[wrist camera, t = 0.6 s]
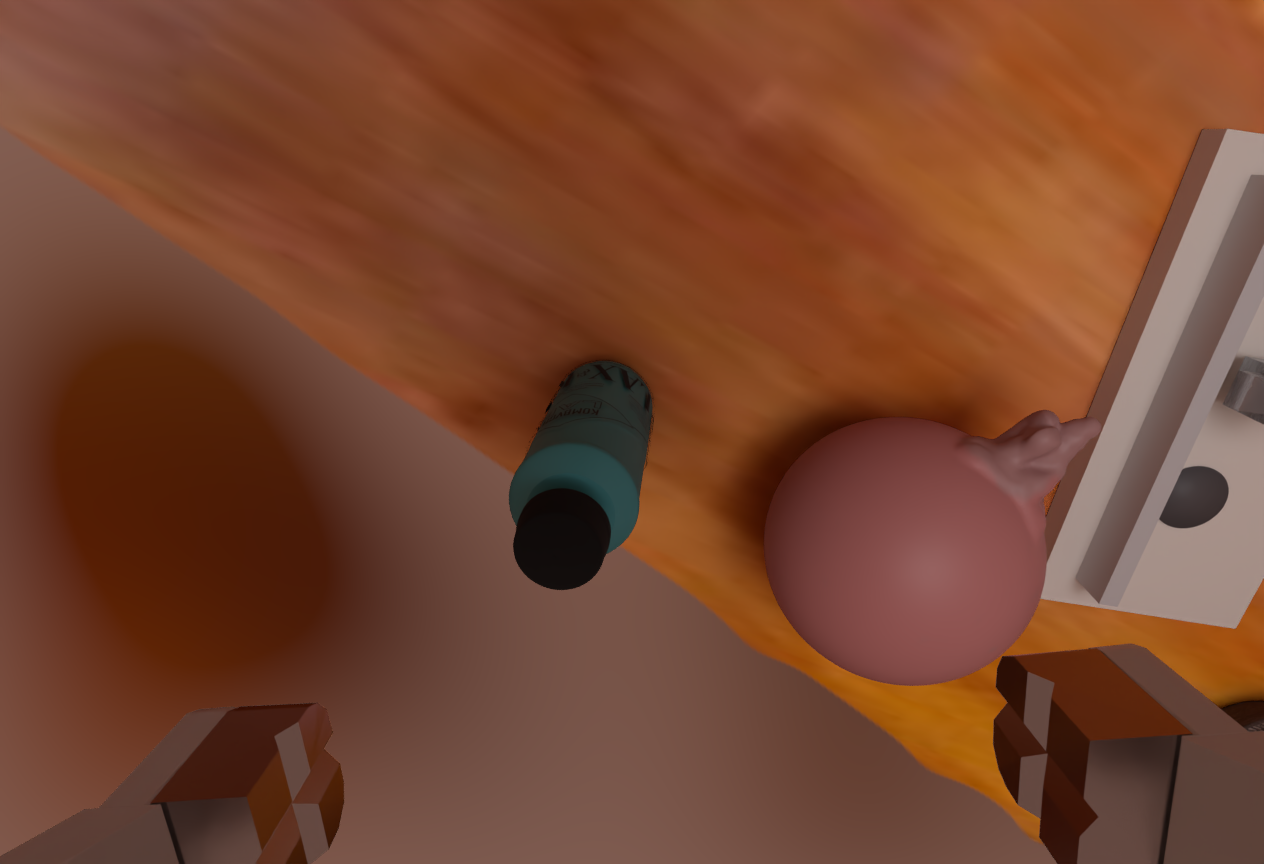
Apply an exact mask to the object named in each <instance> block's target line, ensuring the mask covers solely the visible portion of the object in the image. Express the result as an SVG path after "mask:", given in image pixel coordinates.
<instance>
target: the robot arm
mask: <svg viewBox="0 0 1264 864" xmlns="http://www.w3.org/2000/svg"><path fill="white" fill-rule="evenodd" d="M996 688H997V689H998V691H999V692H1000V693H1001V694H1002V696H1003V697H1004V698H1005V700H1006V701H1007V702H1008V703H1007V704H1006V705H1005V707H1004V708H1003V709H1002V710H1001V711H1000V713H999V714H998V715H997V716H996V718H995V719H994V734H993V745H994V750H995V755H996V759H997V764H998V768H999V771H1000V773H1001V776H1002V778H1003V780H1004V783H1005V785H1006V787H1007V789H1008V790H1009V792H1010V793H1011V795H1012V797H1013V798H1014V800H1015V801H1016V803H1017V804H1018V805H1019V806H1021V807H1022V808H1024V809H1025V810H1027V811H1029V812H1030V813H1032V814H1034V815H1035V816H1037V817H1039V818H1040V819H1041V820H1040V834H1039V837H1040V839H1041V840H1042V842H1043V843H1044V845H1045V846H1046V848H1047V849H1048V851H1049V852H1050V854H1051V855H1052V857H1053V858H1054V859H1055V861H1056V862H1057V864H1264V731H1254V732H1248V731H1247V730H1246V729H1245V728H1243V727H1242V726H1241V725H1240V724H1239V723H1237V722H1236V721H1235V720H1234V719H1232V718H1231V717H1230V716H1229V715H1227V714H1226V713H1225V712H1224V711H1223V710H1221V709H1220V708H1219V707H1218V706H1216V705H1215V704H1214V703H1213V702H1211V701H1210V700H1209V699H1208V698H1207V697H1205V696H1204V695H1203V694H1202V693H1200V692H1199V691H1198V690H1197V689H1195V688H1194V687H1193V686H1192V685H1190V684H1189V683H1188V682H1187V681H1186V680H1184V679H1183V678H1182V677H1181V676H1179V675H1178V674H1177V673H1176V672H1174V671H1173V670H1172V669H1171V668H1170V667H1168V666H1167V665H1166V664H1165V663H1163V662H1162V661H1161V660H1160V659H1158V658H1157V657H1156V656H1155V655H1154V654H1152V653H1151V652H1150V651H1149V650H1147V649H1146V648H1144V647H1141V646H1138V645H1135V644H1123V645H1114V646H1104V647H1094V648H1088V649H1082V650H1071V651H1059V652H1047V653H1036V654H1024V655H1012V656H1002V658H1001V661H1000V663H999V665H998V668H997V678H996ZM332 733H333V731H332V727H331V723H330V720H329V716H328V712H327V709H326V708H324V707H323V706H321V705H320V704H319V703H304V704H283V705H262V706H241V707H237V708H236V707H222V708H210V709H199V710H196V711H193V712H190V713H187V714H186V715H185V716H184V717H183V718H182V719H181V721H179V722H178V724H177V725H176V726H175V727H174V728H173V729H172V730H171V731H170V732H169V733H168V734H167V735H166V736H165V738H164V739H163V740H162V741H161V742H160V743H159V744H158V745H157V746H156V747H155V748H154V749H153V750H152V751H151V752H150V754H149V755H148V756H147V757H146V758H145V759H144V760H143V761H142V762H141V763H140V764H139V765H138V766H137V767H136V768H135V770H134V771H133V772H132V773H131V774H130V775H129V776H128V777H127V778H126V779H125V780H124V781H123V782H122V783H121V785H120V786H119V787H118V788H117V789H116V790H115V791H114V792H113V793H112V794H111V795H110V796H109V797H108V799H107V800H106V801H105V802H104V803H103V804H102V805H101V806H100V807H99V808H94V809H84V810H82V811H80V812H79V813H77V814H75V815H73V816H71V817H70V818H68V819H66V820H64V821H62V822H61V823H59V824H57V825H55V826H53V827H52V828H50V829H48V830H46V831H45V832H43V833H41V834H39V835H37V836H36V837H34V838H32V839H30V840H29V841H27V842H25V843H23V844H21V845H19V846H18V847H16V848H14V849H12V850H11V851H9V852H7V853H5V854H3V855H2V856H0V864H311V863H313V862H314V861H315V860H316V859H318V858H319V857H320V856H321V855H322V854H324V853H325V852H326V851H327V850H329V848H330V846H331V844H332V841H333V839H334V837H335V835H336V833H337V831H338V829H339V824H340V820H341V815H342V810H343V805H344V780H343V775H342V771H341V766H340V763H339V762H338V761H336V760H335V759H334V758H333V757H332V756H331V755H330V754H329V753H328V752H327V751H326V750H325V749H324V748H325V746H326V744H327V742H328V740H329V739H330V737H331V735H332Z"/></svg>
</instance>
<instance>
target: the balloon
mask: <svg viewBox="0 0 1264 864" xmlns="http://www.w3.org/2000/svg"><path fill="white" fill-rule="evenodd" d="M1100 430H1101V424H1100V422H1099V421H1098V420H1097V419H1095V418H1093V417H1085V418H1082V419H1073V420H1071V421H1068V422H1065V423H1060V422H1059V418H1058V417H1057V415H1055V414H1054V413H1053V412H1051V411H1049V410H1041V411H1037V412H1034V413H1032V414H1031V415H1029V416H1027V417H1026V418H1024V419H1023V420H1021V421H1020V422H1018V423H1017V424H1016V425H1014V426H1013V427H1012V428H1010V429H1009V430H1008V431H1006V432H1005V433H1003V434H1002V435H1000V436H999V437H997V438H995V439H986V438H983V437H979V436H973V437H972V436H970V435H968V434H966V433H964V432H962V431H960V430H958V429H955V428H953V427H950V426H948V425H945V424H941V423H938V422H934V421H930V420H925V419H919V418H911V417H884V418H876V419H870V420H865V421H861V422H858V423H854V424H851V425H848V426H846V427H843V428H841V429H839V430H836V431H834V432H832V433H830V434H829V435H827V436H825V437H824V438H822V439H820V440H819V441H817V442H816V443H815V444H813V445H812V446H811V447H810V448H808V449H807V450H806V451H805V452H804V453H803V454H802V455H801V456H800V457H799V458H798V459H797V460H796V461H795V462H794V463H793V464H792V466H791V467H790V468H789V469H788V471H787V472H786V474H785V475H784V477H783V478H782V480H781V482H780V483H779V485H778V487H777V489H776V491H775V493H774V496H773V498H772V501H771V504H770V507H769V510H768V514H767V518H766V523H765V531H764V557H765V564H766V570H767V574H768V578H769V582H770V585H771V588H772V590H773V593H774V595H775V598H776V600H777V602H778V604H779V606H780V608H781V610H782V611H783V613H784V615H785V616H786V618H787V619H788V621H789V622H790V624H791V625H792V626H793V628H794V629H795V630H796V631H797V632H798V634H799V635H800V636H801V637H802V638H803V639H804V640H805V641H806V642H807V643H808V644H809V645H810V646H811V647H812V648H813V649H815V650H816V651H817V652H818V653H820V654H821V655H822V656H824V657H825V658H826V659H828V660H829V661H831V662H833V663H834V664H836V665H838V666H839V667H841V668H843V669H845V670H847V671H849V672H851V673H854V674H856V675H859V676H861V677H864V678H867V679H871V680H874V681H878V682H883V683H888V684H895V685H909V686H918V685H931V684H938V683H943V682H947V681H951V680H955V679H958V678H961V677H964V676H966V675H969V674H971V673H973V672H975V671H977V670H979V669H981V668H983V667H985V666H986V665H988V664H989V663H991V662H992V661H994V660H995V659H997V658H998V657H999V656H1000V655H1002V654H1003V653H1004V652H1005V651H1006V650H1007V649H1008V648H1009V647H1010V646H1011V645H1012V644H1013V643H1014V642H1015V641H1016V640H1017V639H1018V638H1019V636H1020V635H1021V634H1022V632H1023V631H1024V630H1025V628H1026V627H1027V625H1028V624H1029V622H1030V620H1031V618H1032V616H1033V615H1034V612H1035V610H1036V608H1037V606H1038V603H1039V601H1040V598H1041V594H1042V591H1043V587H1044V582H1045V576H1046V566H1047V552H1046V541H1045V535H1044V531H1045V527H1046V516H1045V506H1044V503H1043V502H1044V497H1045V496H1046V495H1047V494H1048V493H1049V492H1051V491H1052V490H1053V488H1054V487H1055V485H1056V484H1057V483H1058V482H1059V481H1060V480H1061V479H1062V478H1063V477H1064V475H1065V473H1066V469H1067V466H1068V463H1069V462H1070V461H1071V460H1072V459H1073V458H1074V457H1075V456H1076V454H1077V453H1078V452H1079V451H1080V450H1081V449H1083V448H1084V447H1085V445H1086V444H1087V442H1088V441H1089V440H1090V439H1091V438H1094V437H1096V436H1097V435H1098V434H1099V433H1100Z"/></svg>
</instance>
